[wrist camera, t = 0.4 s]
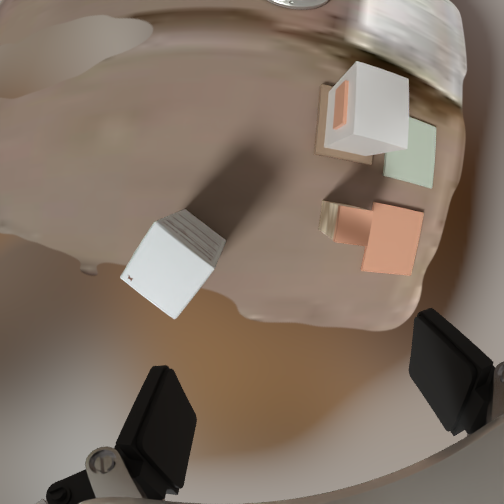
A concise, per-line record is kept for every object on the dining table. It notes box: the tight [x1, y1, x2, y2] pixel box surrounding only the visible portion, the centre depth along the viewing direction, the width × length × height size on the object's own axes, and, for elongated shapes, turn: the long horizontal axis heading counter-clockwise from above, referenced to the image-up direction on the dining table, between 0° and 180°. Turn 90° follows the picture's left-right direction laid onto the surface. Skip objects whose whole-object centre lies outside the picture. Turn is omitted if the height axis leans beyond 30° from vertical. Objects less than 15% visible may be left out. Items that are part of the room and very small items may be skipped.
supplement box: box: [120, 209, 226, 319], centre depth 31 cm, size 7×7×13 cm
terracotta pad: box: [361, 202, 424, 276], centre depth 37 cm, size 10×9×1 cm
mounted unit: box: [314, 61, 409, 165], centre depth 27 cm, size 10×8×12 cm
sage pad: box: [383, 117, 436, 189], centre depth 33 cm, size 10×9×1 cm
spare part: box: [318, 200, 373, 246], centre depth 32 cm, size 4×4×8 cm
